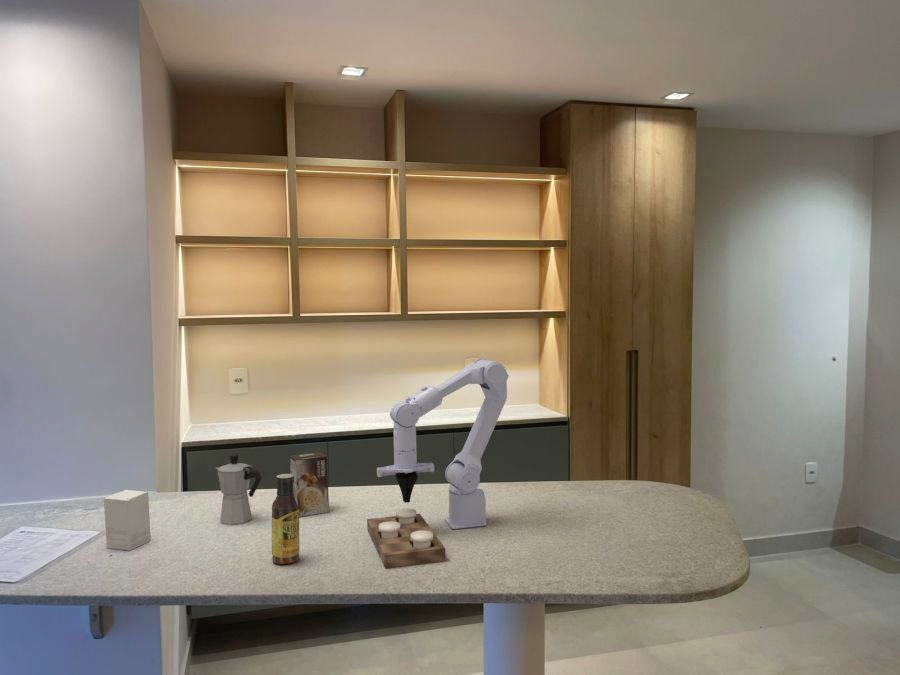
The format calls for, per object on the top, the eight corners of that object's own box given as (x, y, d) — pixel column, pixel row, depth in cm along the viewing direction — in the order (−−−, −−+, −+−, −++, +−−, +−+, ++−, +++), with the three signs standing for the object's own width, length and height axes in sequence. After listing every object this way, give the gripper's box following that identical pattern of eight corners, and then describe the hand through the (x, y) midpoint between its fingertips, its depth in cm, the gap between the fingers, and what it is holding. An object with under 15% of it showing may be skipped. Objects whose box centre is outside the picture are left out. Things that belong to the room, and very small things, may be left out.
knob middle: (398, 540, 170) (397, 520, 170) (402, 547, 165) (402, 527, 165) (377, 542, 168) (377, 522, 168) (381, 550, 164) (380, 529, 163)
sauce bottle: (285, 568, 155) (283, 481, 153) (266, 562, 158) (263, 477, 156) (306, 558, 160) (303, 474, 159) (286, 552, 164) (284, 470, 162)
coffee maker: (206, 522, 186) (203, 456, 184) (228, 512, 194) (225, 449, 192) (251, 528, 180) (249, 461, 179) (272, 518, 188) (270, 453, 187)
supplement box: (151, 540, 172) (149, 491, 171) (129, 551, 165) (126, 500, 164) (128, 537, 175) (126, 488, 174) (105, 548, 168) (102, 497, 167)
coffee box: (322, 506, 198) (321, 451, 197) (329, 512, 192) (328, 456, 191) (291, 511, 194) (289, 455, 192) (297, 518, 188) (295, 460, 187)
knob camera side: (430, 550, 163) (429, 529, 163) (435, 558, 158) (435, 537, 158) (408, 552, 162) (408, 531, 162) (413, 561, 157) (413, 539, 157)
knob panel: (420, 524, 182) (419, 513, 181) (445, 560, 158) (445, 548, 157) (367, 530, 178) (367, 519, 178) (385, 568, 154) (384, 555, 154)
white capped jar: (414, 526, 180) (413, 507, 179) (418, 532, 175) (418, 513, 174) (394, 528, 178) (394, 509, 178) (398, 535, 173) (398, 515, 173)
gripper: (379, 455, 169) (381, 509, 170) (436, 450, 173) (437, 503, 174) (374, 448, 176) (376, 500, 177) (429, 444, 180) (430, 495, 181)
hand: (406, 501), depth 176 cm, fingers closed
